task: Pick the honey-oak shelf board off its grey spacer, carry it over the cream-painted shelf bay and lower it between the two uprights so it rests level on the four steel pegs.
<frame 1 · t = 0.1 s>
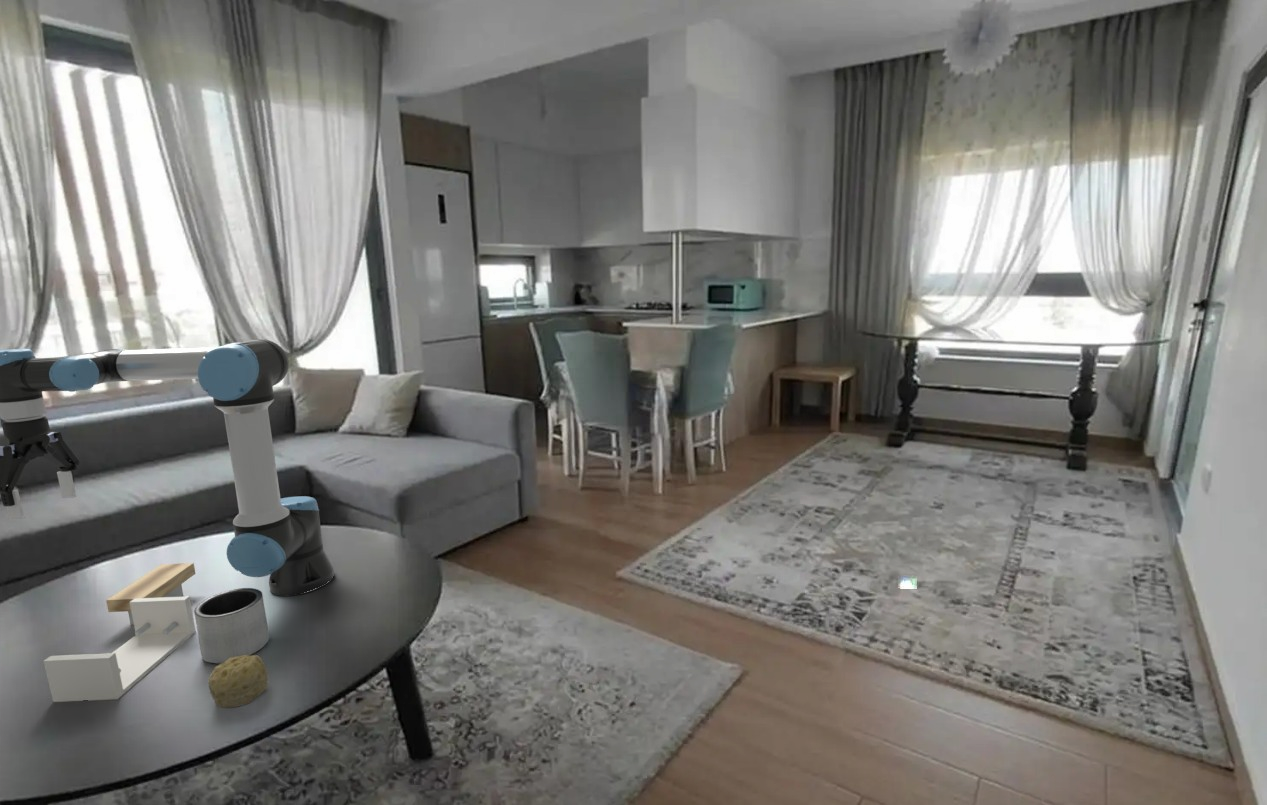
hand: (44, 507, 144), 28 cm above the table, fingers open, 13 cm apart
shelf bay: (130, 663, 131), on the table
board: (154, 591, 151), point 5 cm above the table, touching spacer
decorative item: (241, 695, 120), on the table
planter: (237, 649, 135), on the table
spacer: (158, 610, 152), on the table
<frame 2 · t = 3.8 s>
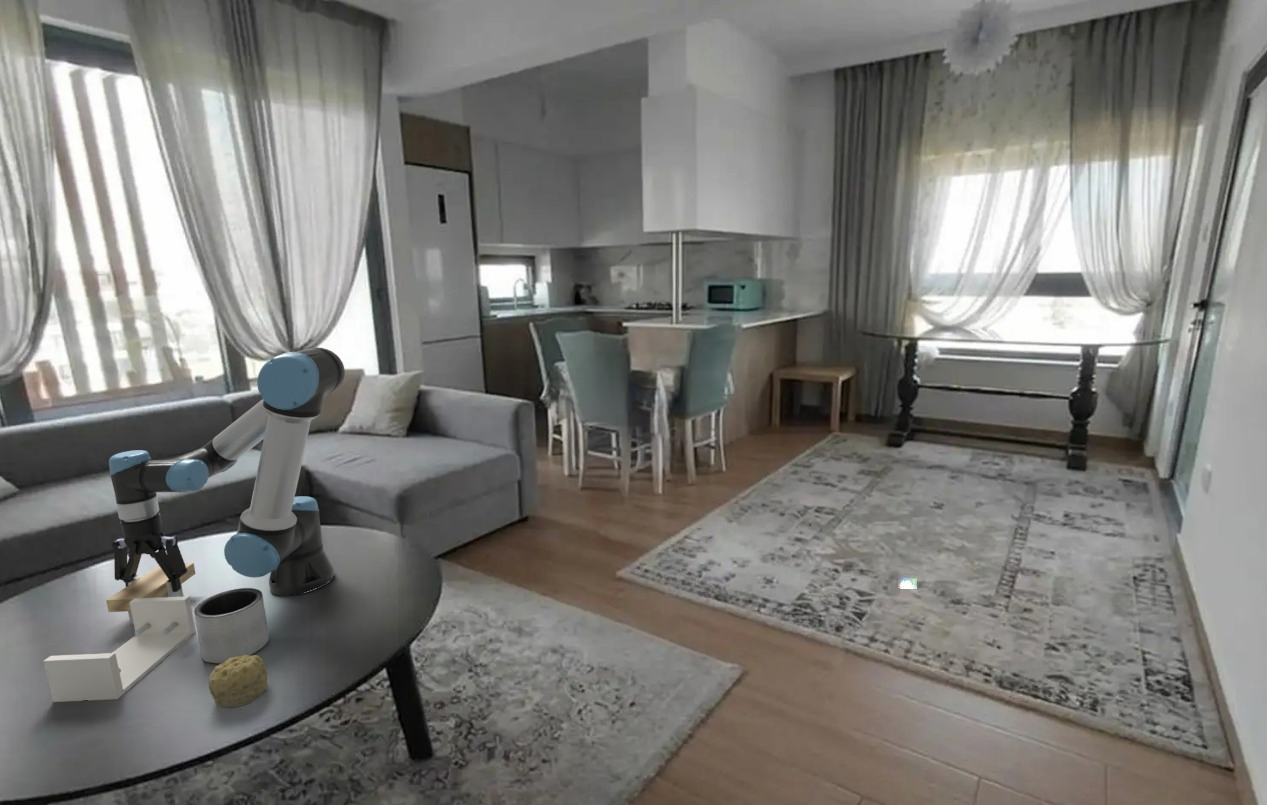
hand: (157, 604, 152), 2 cm above the table, fingers closed on board, 8 cm apart
board: (154, 591, 151), point 5 cm above the table, touching gripper, spacer
everything else where it was.
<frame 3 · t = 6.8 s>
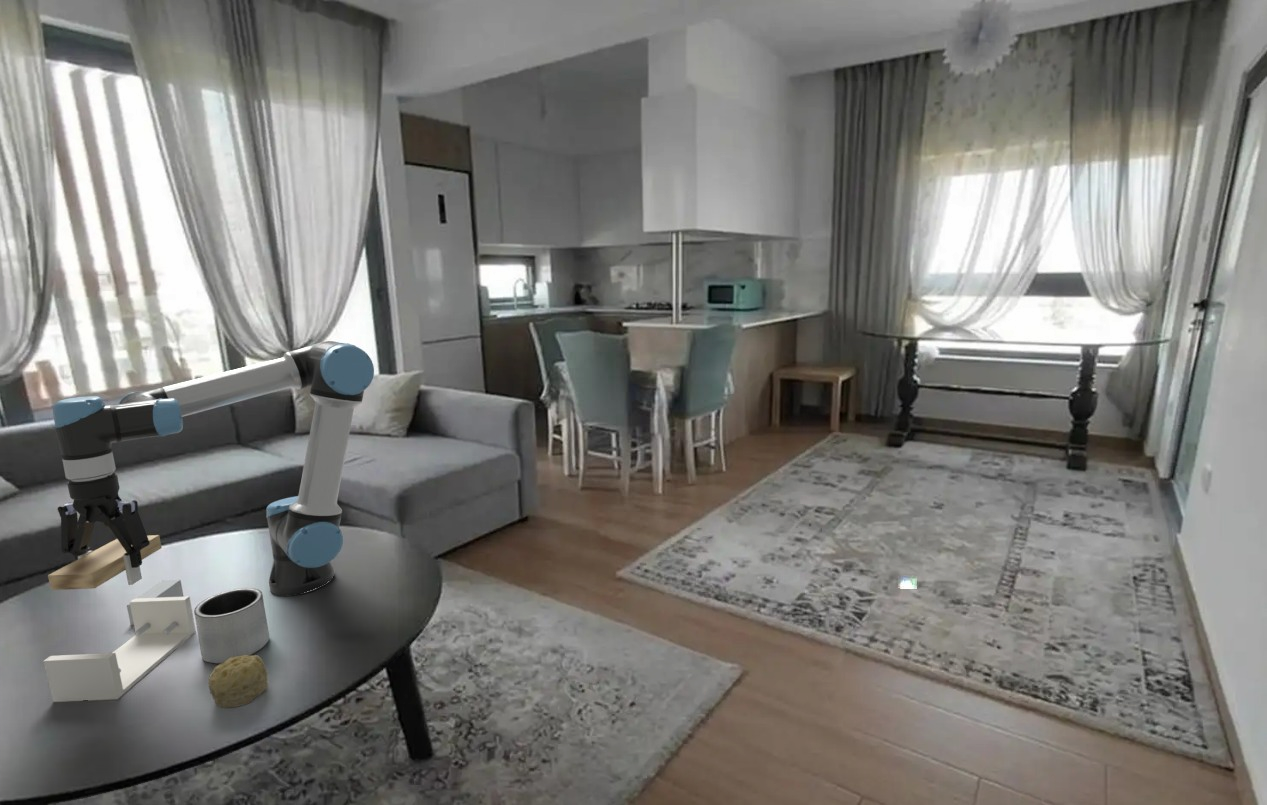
hand: (113, 582, 127), 19 cm above the table, fingers closed on board, 8 cm apart
board: (110, 567, 126), point 22 cm above the table, touching gripper
everything else where it was.
when the fingers open (2 cm above the table, at t = 9.9 s): board drops 1 cm, resting on shelf bay.
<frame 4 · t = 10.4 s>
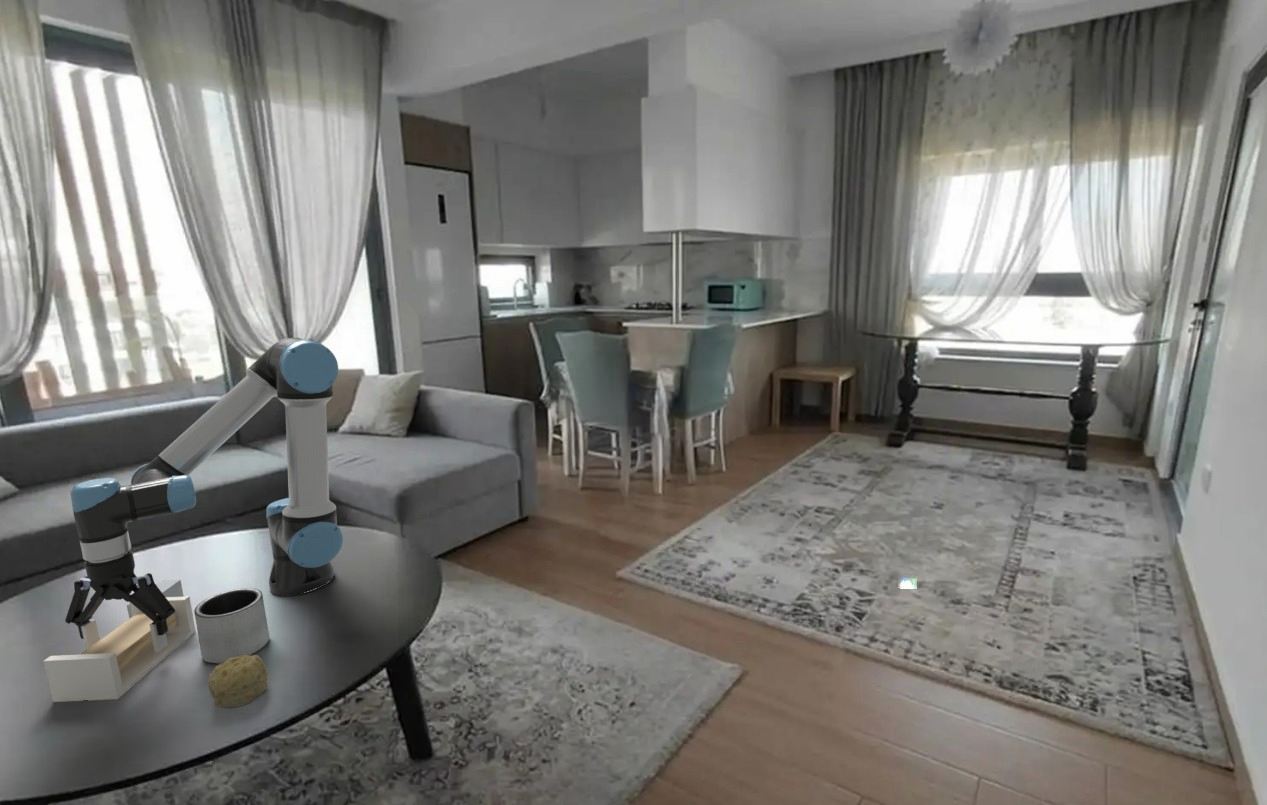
hand: (127, 650, 130), 3 cm above the table, fingers open, 13 cm apart
board: (127, 648, 130), point 4 cm above the table, touching shelf bay
everything else where it was.
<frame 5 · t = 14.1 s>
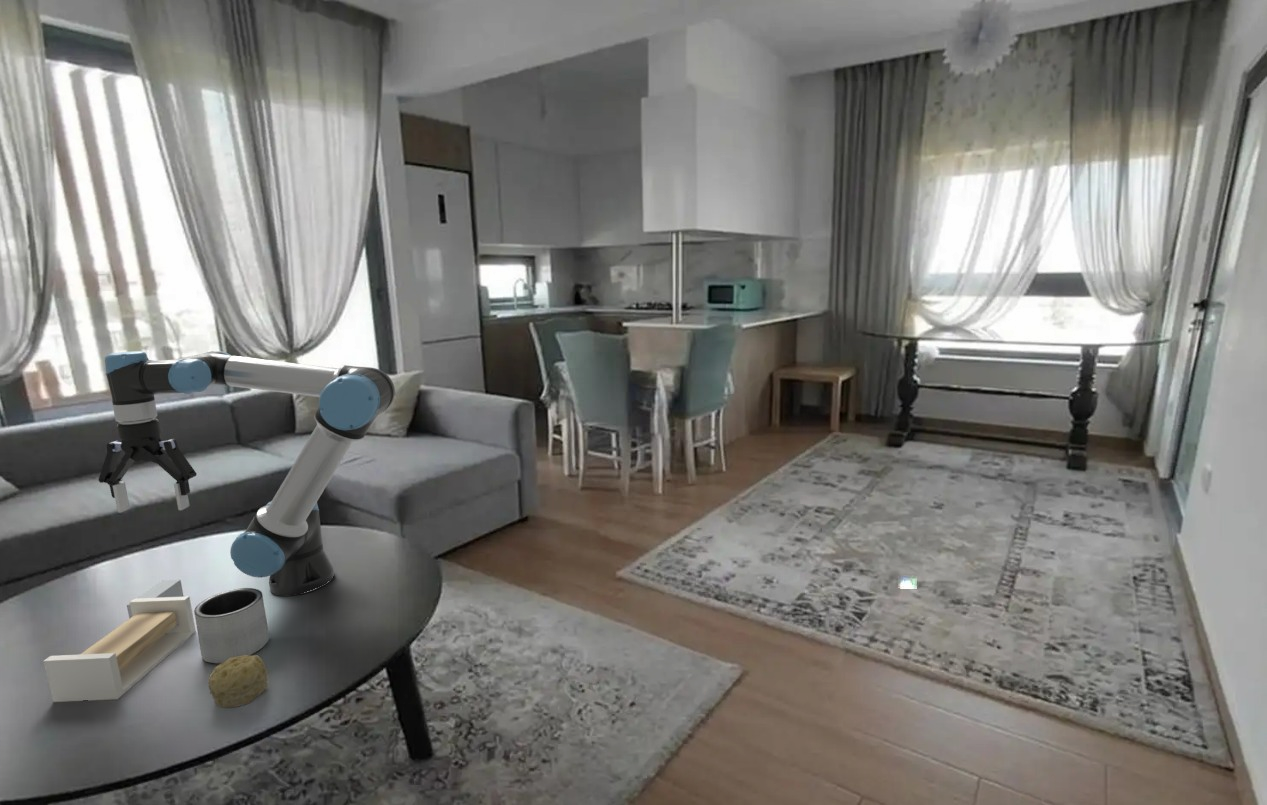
hand: (154, 509, 145), 27 cm above the table, fingers open, 13 cm apart
nothing on the table moved.
at the end: board 0.1 cm off-centre on the shelf bay, point 3.6 cm above the shelf bay's base; board tilted 0°; the gripper is holding nothing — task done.
